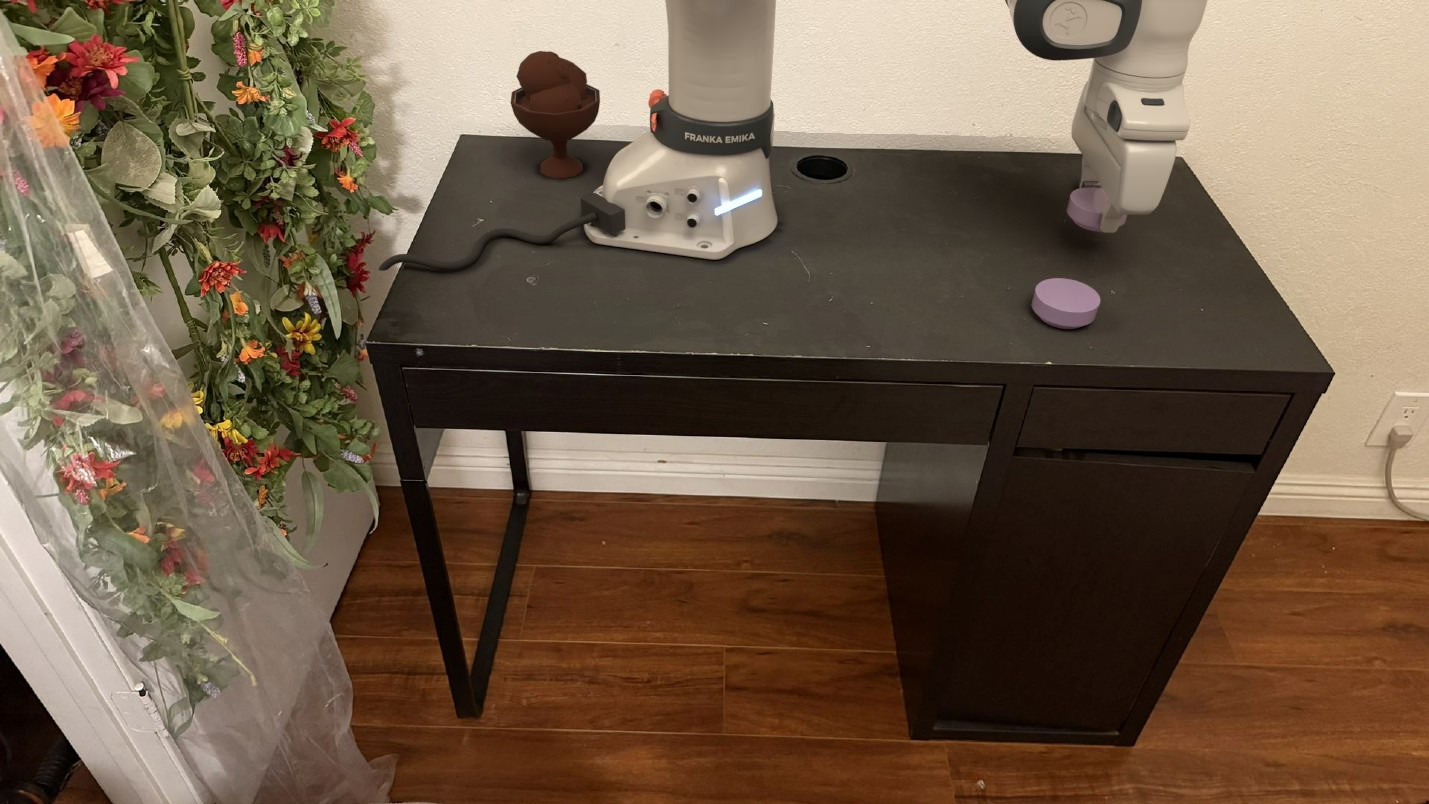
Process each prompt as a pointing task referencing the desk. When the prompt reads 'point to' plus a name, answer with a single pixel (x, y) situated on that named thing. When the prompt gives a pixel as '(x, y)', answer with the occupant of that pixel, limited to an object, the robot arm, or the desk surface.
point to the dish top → (1088, 207)
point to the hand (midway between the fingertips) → (1096, 212)
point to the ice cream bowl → (555, 107)
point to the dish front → (1065, 303)
